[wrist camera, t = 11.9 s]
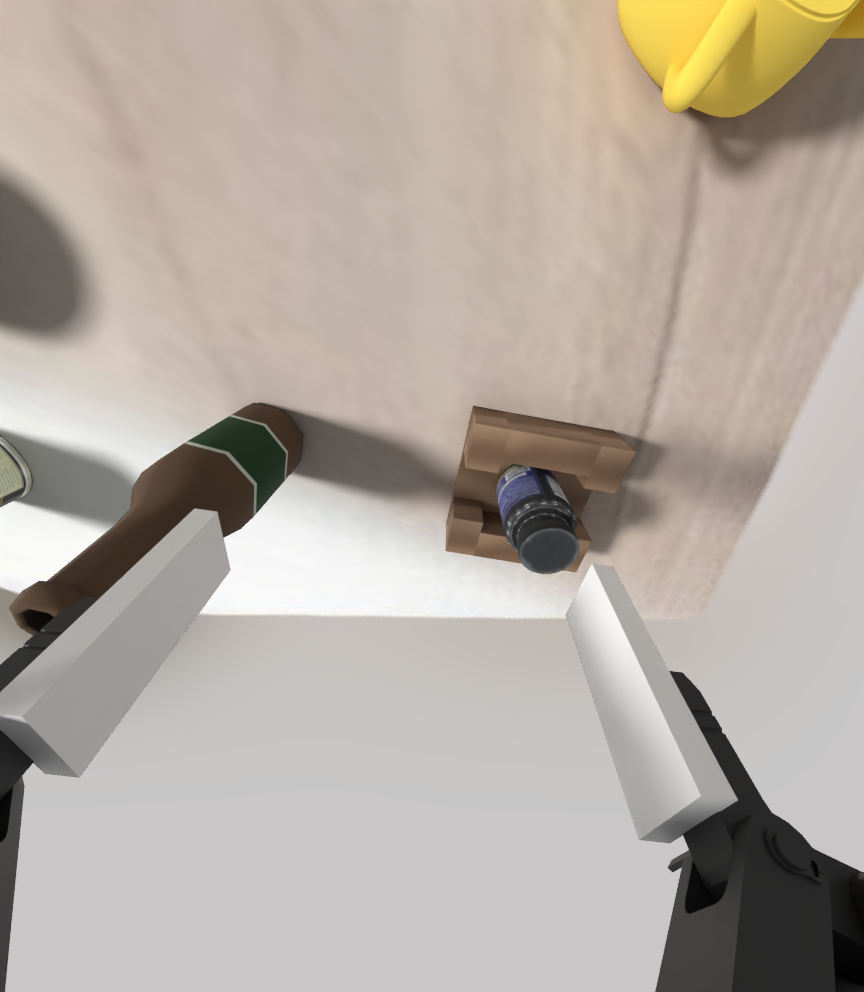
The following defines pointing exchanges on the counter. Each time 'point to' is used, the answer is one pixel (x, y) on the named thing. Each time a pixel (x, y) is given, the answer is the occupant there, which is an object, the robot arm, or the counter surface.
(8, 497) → the coffee can
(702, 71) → the teapot
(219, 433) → the beer bottle
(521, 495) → the pill bottle
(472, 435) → the socket
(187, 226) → the counter surface
